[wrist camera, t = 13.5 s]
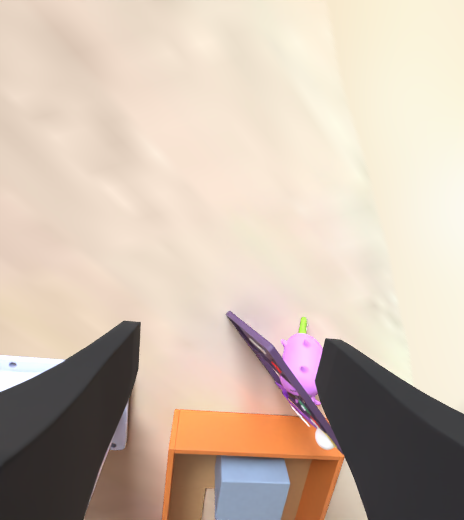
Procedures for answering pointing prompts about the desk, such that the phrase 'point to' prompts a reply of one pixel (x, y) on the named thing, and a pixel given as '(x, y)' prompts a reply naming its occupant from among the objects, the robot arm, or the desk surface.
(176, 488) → the wooden tray
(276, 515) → the small cube
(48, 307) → the desk surface
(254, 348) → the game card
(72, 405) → the robot arm
